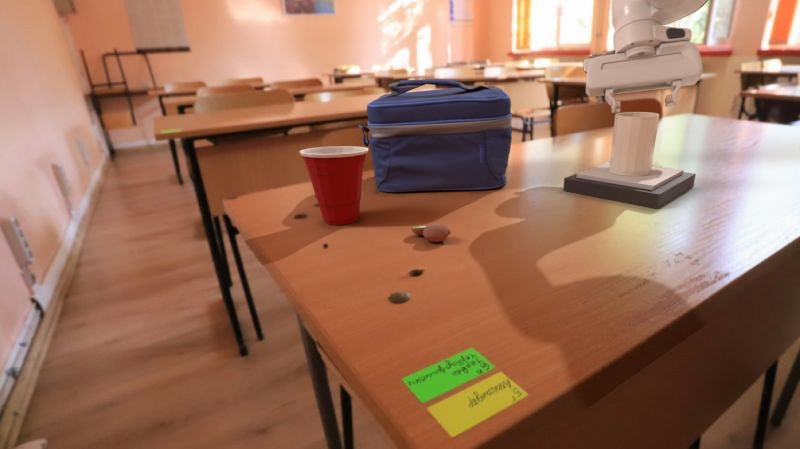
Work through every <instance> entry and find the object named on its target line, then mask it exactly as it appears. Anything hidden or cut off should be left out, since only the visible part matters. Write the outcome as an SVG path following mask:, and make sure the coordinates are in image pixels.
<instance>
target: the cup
mask: <svg viewBox="0 0 800 449" xmlns="http://www.w3.org/2000/svg"><path fill="white" fill-rule="evenodd" d="M659 120H660V113H656V112H652V111H651V112H650V111H649V112H648V111H646V112H645V111H624V112H617V113H614V123H613V131H612V140H611V149H610V157H609V158H610V159H609V161H610V164H609V172H611V173H613V174H617V175H623V176H644V175H648V174H650V172H651V167H652V165H653V160H654V153H655V148H656V147H655V145H656V139H657V133H658V127H659Z"/></svg>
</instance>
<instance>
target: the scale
mask: <svg viewBox="0 0 800 449" xmlns="http://www.w3.org/2000/svg"><path fill="white" fill-rule="evenodd" d="M609 164H610V160H607V161H605V162H602V163H600V164H597V165H595V166H592V167H589V168H587V169H584V170H582V171H578V172H577V173H574V174H571V175H568V176H566V177H564V178H563V186H562V187H563V188H562V190H563V192H567V193H573V194H578V195H583V196H587V197H594V198H598V199H603V200H610V201H613V202H619V203H624V204H630V205H635V206H639V207H645V208H649V209H650V208H651V209H655V210H657V209H659V208H661V207H662V206H664V205H666V204H667V203H669V202H671V201H673V200H674V199H676V198H677V197H679V196H681V195H682V194H684V193H685V192H687V191H688V190H691V189H692V188H694V185H695V180H696V176H697V173H693V172H686V171H685V170H684V169H681V168H672V167H665V166H662V165H658V164H657V165H656V164H652V167H651V172H650V174H648V175H644V176H623V175H617V174H613V173H611V172H609Z"/></svg>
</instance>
